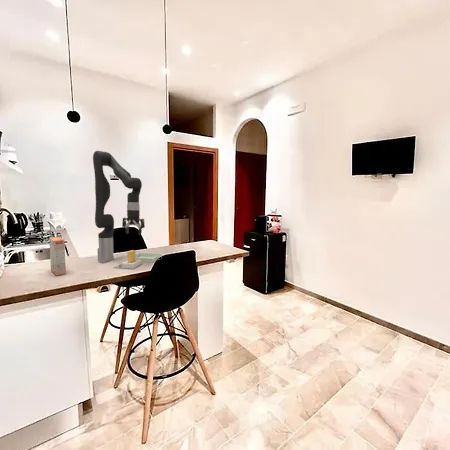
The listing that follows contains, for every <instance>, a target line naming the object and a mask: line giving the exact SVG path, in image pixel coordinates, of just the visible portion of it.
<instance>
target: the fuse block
mask: <svg viewBox="0 0 450 450" xmlns="http://www.w3.org/2000/svg"><path fill="white" fill-rule="evenodd" d="M142 265H143V263H142V262H141V260H136V261H135V262H133V263H128V261H127V260H126V261H123V262H122V263H120V264H119V265H116V266H114V267H113V269H118V270H119V269H120V270H121V269H122V270H132V271H133V270H136V269H137V268H139V267H141V266H142Z"/></svg>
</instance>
